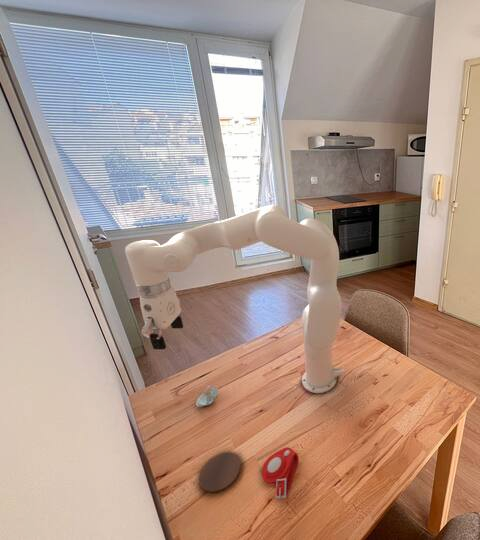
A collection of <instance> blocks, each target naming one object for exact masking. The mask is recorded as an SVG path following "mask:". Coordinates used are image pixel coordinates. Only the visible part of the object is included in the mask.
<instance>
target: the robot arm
mask: <svg viewBox="0 0 480 540" xmlns="http://www.w3.org/2000/svg"><path fill="white" fill-rule="evenodd" d="M261 242H262V243H263V244H265V245H267V246H269V247H272V248H274V249H276V250H279V251H282V252H285V253H288V254H291V255H293V256H297V257H299V258H303V259H306V260H310V270H309V276H308V283H307V289H306V297H307V302H308V304H307V305H306V307H305V308H304V309H303V311H302V313H301V325H302V336H303V351H304V352H303V353H304V364H305V365H304V366H305V367H304V368H305V372H304V373H303V374H302V377H301V383H302V386H303V388H304V389H305V390H306V391H308V392H310V393H313V394H322V393H326V392H329V391H330V390H331V389H333V388H334V386H336V384H337V379H338V378H337V377H339V376H340V377H341V376H345V375H346V370H345V369H341V366H340V365H338V366H333V344H334V343H335V341H336V339H337V336H338V331H339V327H340V321H341V317H342V316H341V315H342V311H343V305H342V304H343V303H342V298H341V294H340V292H339V290H338V287H337V284H338V283H337V282H338V281H337V280H338V274H339V265H340V250H339V246H338V242H337V240H336V237H335V235H334V233H333V232H332V231H331V229H330V228H329V227H328V226H327V225H326V224H325V223H323V222H322V221H320V220H318V219H316V218H312V217H310V218H309V217H308V218H305V219H303V220H302V221H301V222H298V221H296V220H293V219H291V218H289V217H288V215H287V213H286V211H285V210H284V209H283V208H282V207H280V206H278V205H276V204H269V205H265V206H262V207H259V208H255V209H252V210H250V211H248V212H245V213H244V212H243V213H241V214H239V215H236V216H232V217H230V218H227V219H224V220H218V221H214V222H209V223H206V224H202V225H199V226H196V227H195V226H194V227H193V228H190V229H186V230H184V231H181V232H179V233H176V234H175V235H173V236H172V237H171V238H170V239H169V240H168V241H167V242H165V243H163V244H160V243H159V242H158V241H156V240H152V239H143V240H138V241H137V240H136V241H133V242H131V243H129V244H127V245H126V246H125V248H124V253H125V256H126V260H127V263H128V266H129V269H130V272H131V275H132V279H133V281H134V285H135V287H136V290H137V294H138V296H139V305H140V310H141V315H142V319H143V322H144V326H143V327H142V329H141V335H142V336H143V337H144V338H145V339H148V340H149V341H150V343H151V346H152V350H166V348H167V345H166V341H165V338H164V336H162V334H163V330H166V329H168V327H170V326H171V329H183V328H184V323H183V319H182V317H181V316H182V306H181V298H179V297H178V295H177V292H176V290H175V288H174V286H173V284H171V280H170V276H169V273H180V272H183V271H186V270H187V269H188V268H190V266H191V264H192V263H193V261H194V260H195V259H196V257H197V256H198V255H200V254H203V253H205V252H207V251H211V250H214V249H219V248H226V249H229V250H232V251H239V250H241V249H245V248H247V247H250V246H252V245H255V244H259V243H261ZM155 330H156V333H154V331H155Z"/></svg>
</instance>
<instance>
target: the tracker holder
mask: <svg viewBox="0 0 480 540" xmlns="http://www.w3.org/2000/svg"><path fill="white" fill-rule="evenodd" d="M299 459H300V458H299V455H298V453H297V452H296V451H295V450H294V449H292V448H291V447H290V446H289V447H288V446H287V447H284V448H281V449H280V450H278V451H276V452H274V453H273V454H271V455H270V456H269V457H267V459H266V461H265V462H264V464H263V466H262V468H261V478H262V480H263V481H264V482H265V483H266V484H268V485H274V484H276V485H275V486H276V487H275V499H285V498H287V496H288V494H289V491H290V489H291V486H292V482H293V479H294V477H295V474H296V471H297V468H298V467H299V461H300V460H299Z"/></svg>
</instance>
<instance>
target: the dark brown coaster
mask: <svg viewBox="0 0 480 540" xmlns="http://www.w3.org/2000/svg"><path fill="white" fill-rule="evenodd" d="M241 469H242V463H241V459H240V457H239V456H238V455H237V454H236V453H234V452H231V451H227V452H221V453H218V454H216V455H214V456H213V457H211V458H210V459H208V460H207V462H206V463H205V464H204V465H203V467H202V469H201V471H200V472H199V477H198V482H199V485H200V487H201V489H202V490H203V491H204V492H206V493H209V494H217V493H220V492H223V491H225V490H227V489H228V488H230V487H231V486H232V485H233V484H234V483H235V482H236V480H237V479H238V477H239V475H240V473H241Z"/></svg>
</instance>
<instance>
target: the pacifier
mask: <svg viewBox="0 0 480 540" xmlns="http://www.w3.org/2000/svg"><path fill="white" fill-rule="evenodd" d="M218 395H219V389H218V388H217V387H216V386H213V387H211V386H210V385H208V386H207V387H206V388H205V389H204V392H203V393H202V394H201V395H200V396H199V397H198V398H197V399H196V402H195V406H196V407H197V408H202V407H204V406H209V405H212V404H213V402H214V400H215V399H216V398H217V397H218Z"/></svg>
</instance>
